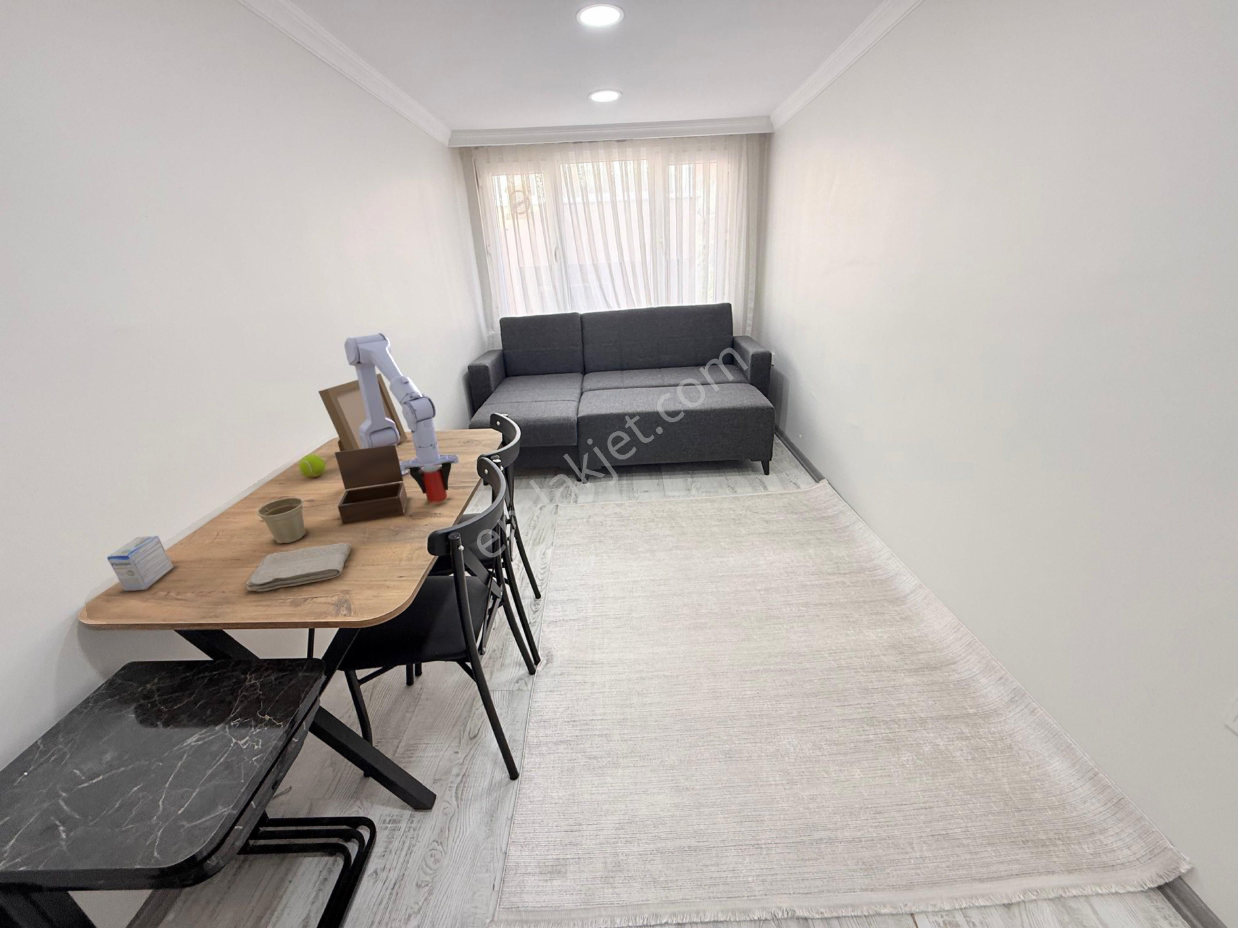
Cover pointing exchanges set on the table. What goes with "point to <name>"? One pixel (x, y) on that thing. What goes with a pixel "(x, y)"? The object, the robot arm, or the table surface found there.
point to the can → (434, 483)
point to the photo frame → (355, 411)
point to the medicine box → (140, 563)
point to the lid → (369, 466)
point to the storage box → (373, 503)
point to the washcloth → (299, 567)
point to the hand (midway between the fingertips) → (435, 490)
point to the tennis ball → (312, 465)
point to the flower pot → (284, 519)
